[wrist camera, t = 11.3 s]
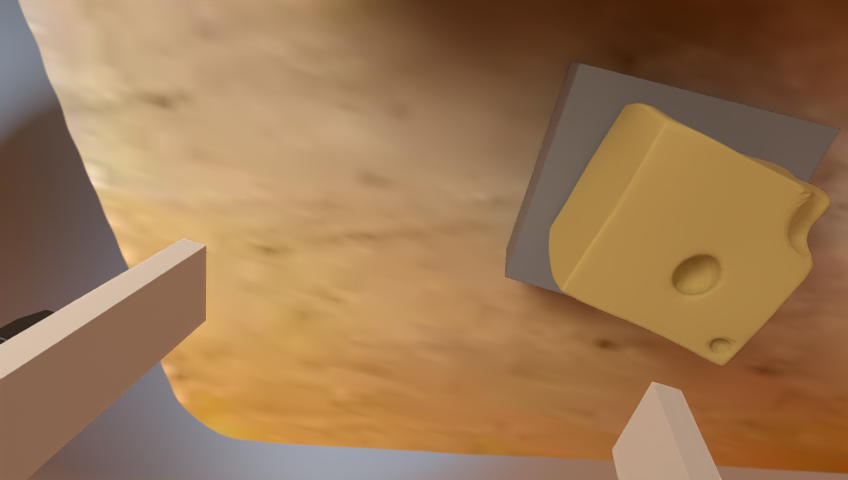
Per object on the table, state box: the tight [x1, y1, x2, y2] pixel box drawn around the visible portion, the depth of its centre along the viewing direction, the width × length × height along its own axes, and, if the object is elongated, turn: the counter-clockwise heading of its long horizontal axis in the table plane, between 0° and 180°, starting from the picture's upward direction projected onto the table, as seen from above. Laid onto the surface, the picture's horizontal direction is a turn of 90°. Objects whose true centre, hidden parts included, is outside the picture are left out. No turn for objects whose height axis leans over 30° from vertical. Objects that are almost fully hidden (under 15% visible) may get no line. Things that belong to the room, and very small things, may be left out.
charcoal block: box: [505, 62, 840, 296], centre depth 34 cm, size 16×16×6 cm
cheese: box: [549, 103, 831, 366], centre depth 27 cm, size 10×11×10 cm
